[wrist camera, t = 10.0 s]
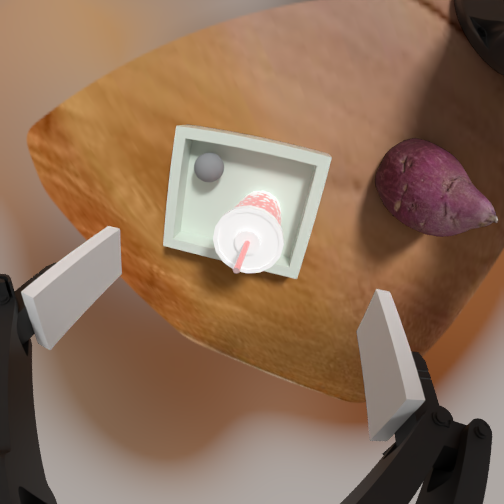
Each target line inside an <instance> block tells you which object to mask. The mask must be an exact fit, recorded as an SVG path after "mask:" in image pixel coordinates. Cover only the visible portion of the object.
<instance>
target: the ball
mask: <svg viewBox="0 0 504 504" xmlns="http://www.w3.org/2000/svg"><path fill="white" fill-rule="evenodd" d="M194 172H195V174H196V176H197V177H198V178H199V179H200V180H202V181H204V182H214V181H216V180H218V179H219V178H220V177H221V176H222V174H223V172H224V163H223V160H222V159H221V157H220V156H218V155H217V154H215V153H204V154H202V155H200V156H199V157H198V158H197V159H196V161H195V164H194Z"/></svg>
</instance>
